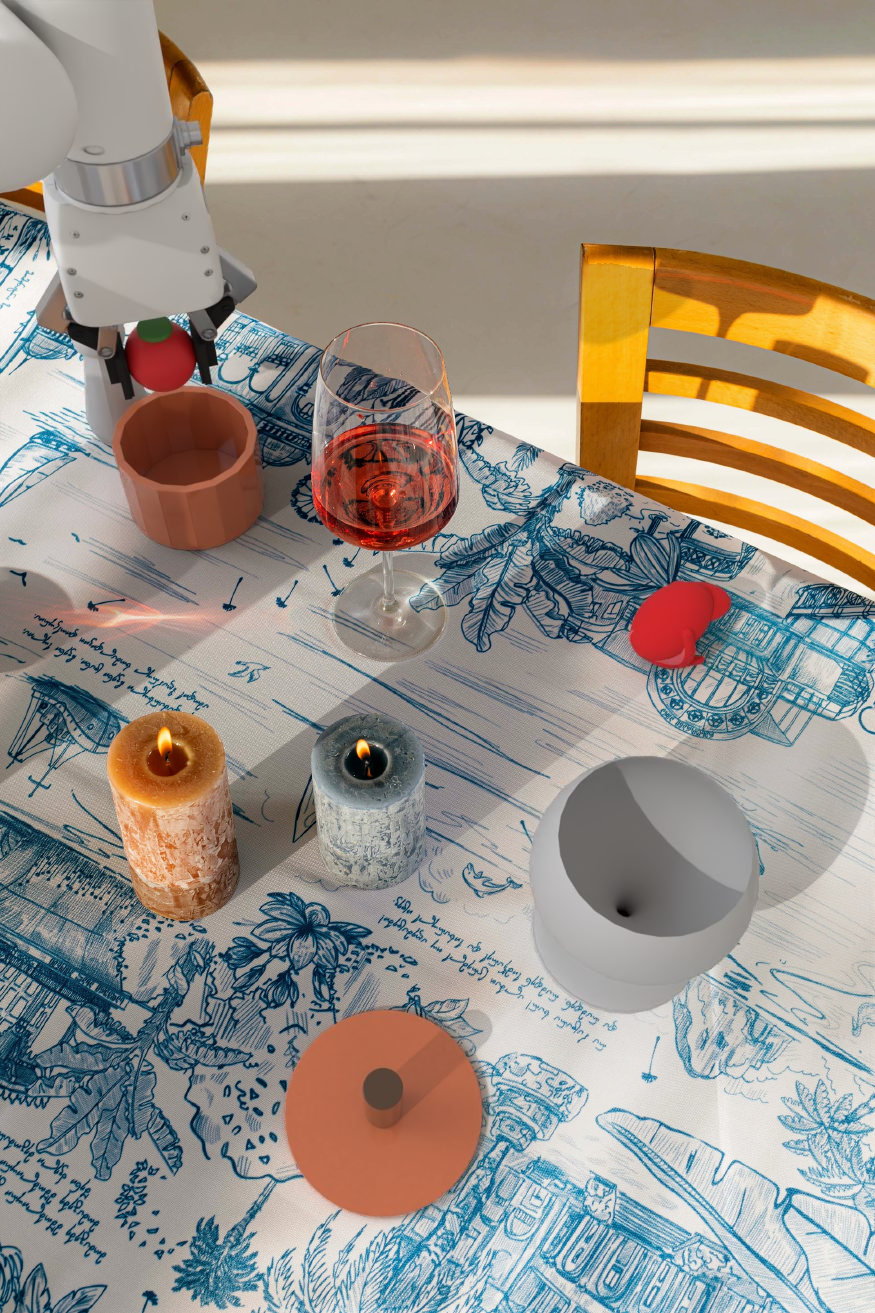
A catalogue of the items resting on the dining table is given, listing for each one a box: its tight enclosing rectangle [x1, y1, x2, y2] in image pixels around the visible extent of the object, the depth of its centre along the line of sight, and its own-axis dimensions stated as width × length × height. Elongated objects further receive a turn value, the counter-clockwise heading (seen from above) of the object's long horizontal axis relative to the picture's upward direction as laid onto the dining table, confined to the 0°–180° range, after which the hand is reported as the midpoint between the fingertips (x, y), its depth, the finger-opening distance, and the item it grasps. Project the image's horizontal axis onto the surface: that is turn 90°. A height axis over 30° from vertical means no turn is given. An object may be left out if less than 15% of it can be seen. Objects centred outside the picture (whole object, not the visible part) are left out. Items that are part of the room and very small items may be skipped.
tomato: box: [124, 316, 197, 392], centre depth 84 cm, size 5×5×5 cm
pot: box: [111, 384, 266, 551], centre depth 99 cm, size 11×11×8 cm
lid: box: [283, 1009, 483, 1218], centre depth 73 cm, size 12×12×7 cm
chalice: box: [528, 755, 761, 1015], centre depth 76 cm, size 14×14×15 cm
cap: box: [627, 580, 732, 670], centre depth 93 cm, size 8×6×6 cm
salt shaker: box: [70, 324, 149, 448], centre depth 100 cm, size 6×6×13 cm
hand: (165, 376), depth 86 cm, fingers closed on tomato, 4 cm apart
